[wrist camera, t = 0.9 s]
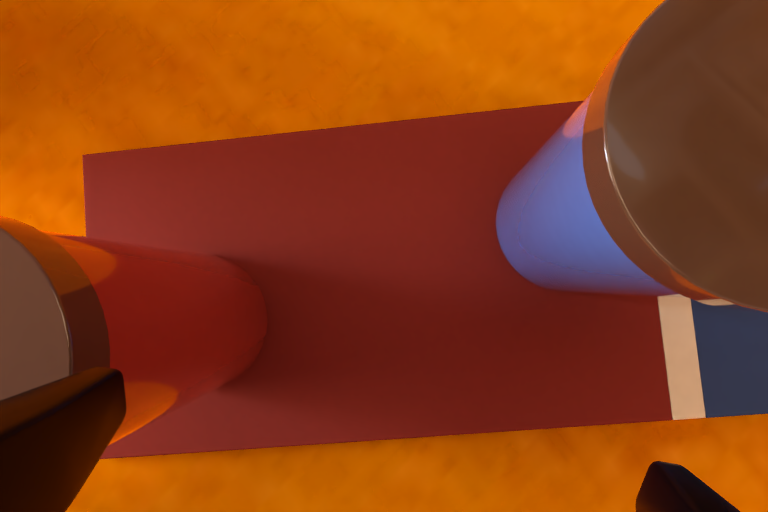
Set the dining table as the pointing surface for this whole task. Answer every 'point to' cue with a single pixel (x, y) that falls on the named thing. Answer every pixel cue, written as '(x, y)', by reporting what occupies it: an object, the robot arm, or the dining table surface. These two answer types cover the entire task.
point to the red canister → (124, 318)
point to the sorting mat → (408, 293)
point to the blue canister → (657, 168)
